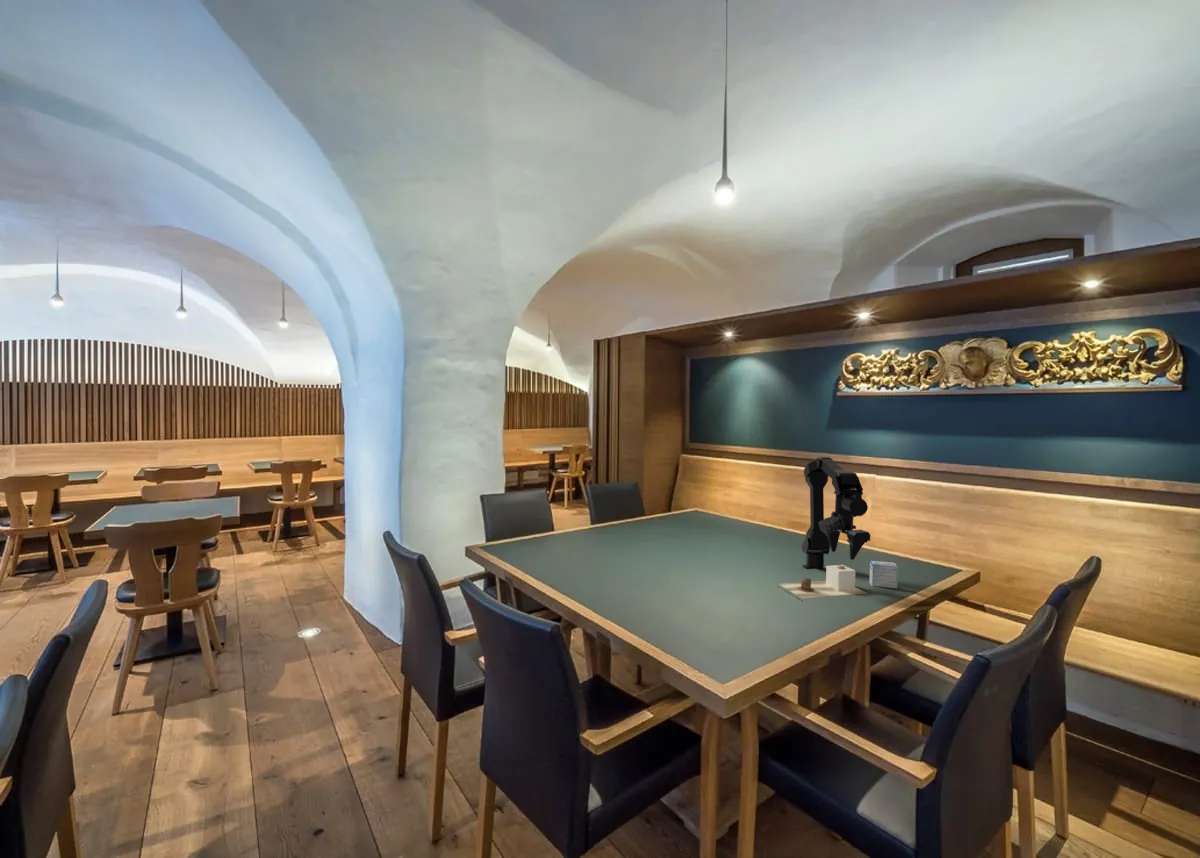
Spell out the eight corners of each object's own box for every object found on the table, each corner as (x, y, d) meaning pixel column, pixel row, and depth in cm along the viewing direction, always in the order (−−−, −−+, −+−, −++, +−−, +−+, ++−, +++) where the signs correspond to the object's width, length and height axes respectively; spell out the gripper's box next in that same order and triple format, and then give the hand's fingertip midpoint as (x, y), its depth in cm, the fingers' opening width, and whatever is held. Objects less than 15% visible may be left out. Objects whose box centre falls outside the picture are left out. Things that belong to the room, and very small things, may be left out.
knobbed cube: (825, 584, 186) (826, 564, 186) (842, 583, 188) (842, 563, 187) (837, 590, 180) (838, 569, 180) (854, 589, 181) (855, 568, 181)
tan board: (778, 586, 186) (778, 573, 186) (839, 582, 192) (839, 569, 192) (801, 601, 173) (802, 587, 173) (867, 596, 178) (867, 582, 178)
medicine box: (894, 587, 188) (895, 562, 187) (897, 591, 183) (898, 566, 183) (868, 584, 190) (869, 560, 189) (871, 589, 185) (872, 563, 185)
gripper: (806, 505, 189) (804, 549, 190) (842, 516, 171) (840, 565, 172) (833, 503, 192) (832, 547, 193) (872, 515, 174) (870, 563, 175)
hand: (842, 555), depth 183 cm, fingers open, 9 cm apart
